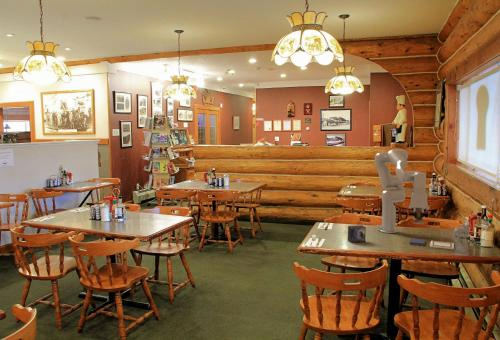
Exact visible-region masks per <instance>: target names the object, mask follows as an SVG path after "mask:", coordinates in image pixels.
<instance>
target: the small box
mask: <svg viewBox="0 0 500 340" xmlns="http://www.w3.org/2000/svg"><path fill="white" fill-rule="evenodd" d="M366 229H367V228H366V226H365V225H361V224H360V225H348V226H347V242H349V243H350V244H351V243H353V244H355V243H356V244H357V243H366V233H367V232H366V231H367V230H366Z"/></svg>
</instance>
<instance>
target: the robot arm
mask: <svg viewBox="0 0 500 340" xmlns="http://www.w3.org/2000/svg"><path fill="white" fill-rule="evenodd" d="M408 158H409V153H408V151H407V150H405V149H402V148H401V149H399V148H398V149H397V148H396V149H391V150H389V151H381V152H378V153H376V154H375V156H374V165H375V168H376V169H377V172H378V178H379V182H380V185H381V188H383V189H384V190H383V191H382V192H381V194H380V195H381V196H380V197H381V203H382V204H381V206H382V209H381V210H382V213H381V214H382V217H381V220H382V221H381V224H380V225H379V224H378V225H377V224H376V225H375V228H377V229H379V232H381V233H384V234H396V233H398V229H396V218H397V217H396V216H397V215H396V214H397V208H396V205H395V204H394V203H400V202H404V201H405V199H406V191H405V187H404V183H413V188H411V189H410V191H411V196H410V203H409V204H408V209H410V210H412V211H413V217H414V218H416V208H422V211H421V219H422V218H424V213H425V212H426V211H428V210H430V206H429V204H428V194H427V192H426V191H427V189H426V186H427V185H426V184H427V174H426V172H421V171H419V170H404V169H405V168H407V166H408V163H409V162H408ZM387 164H393V165H394V166H395V170H394V171H395V175H393V174H391V170H390V168H389V166H387Z"/></svg>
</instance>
